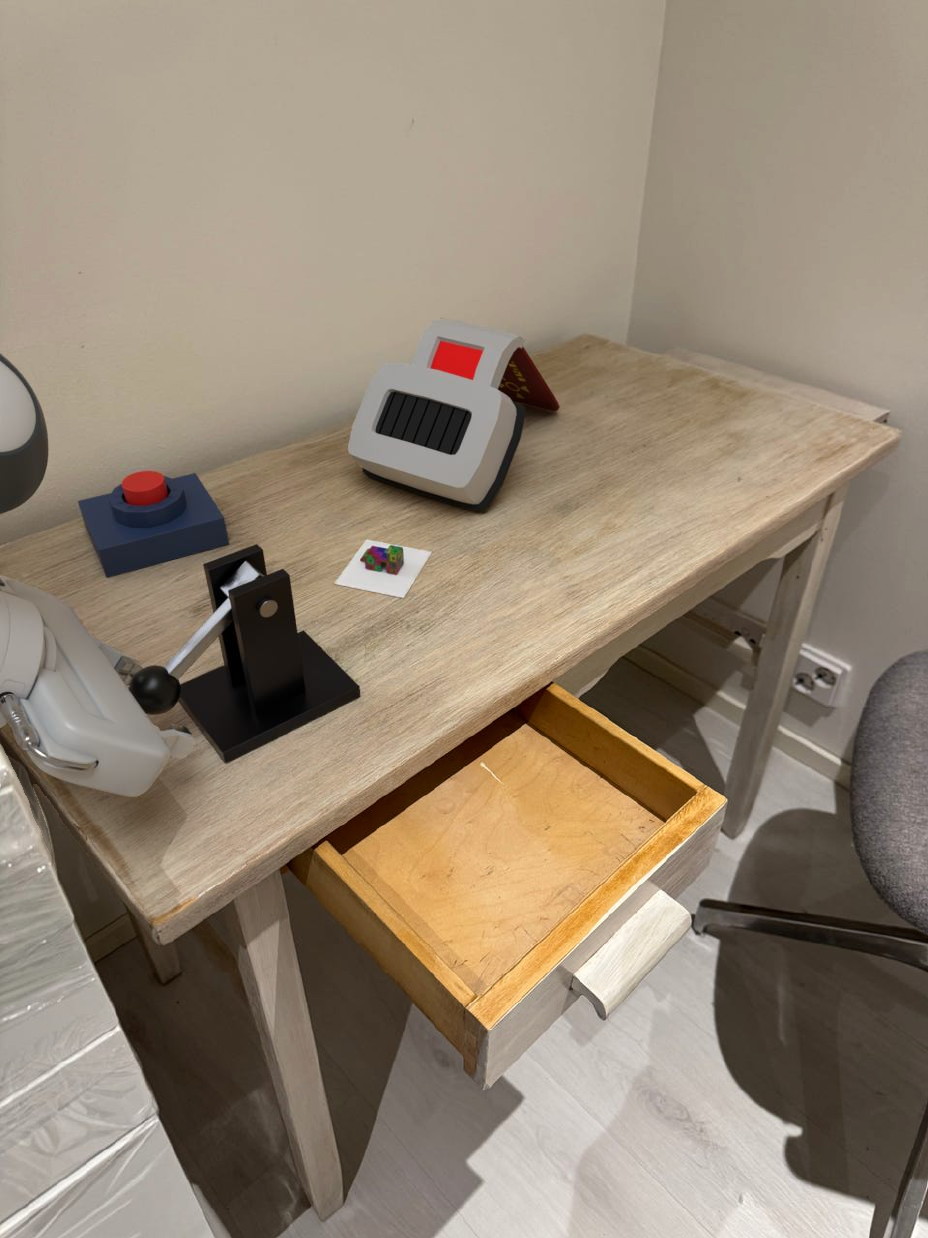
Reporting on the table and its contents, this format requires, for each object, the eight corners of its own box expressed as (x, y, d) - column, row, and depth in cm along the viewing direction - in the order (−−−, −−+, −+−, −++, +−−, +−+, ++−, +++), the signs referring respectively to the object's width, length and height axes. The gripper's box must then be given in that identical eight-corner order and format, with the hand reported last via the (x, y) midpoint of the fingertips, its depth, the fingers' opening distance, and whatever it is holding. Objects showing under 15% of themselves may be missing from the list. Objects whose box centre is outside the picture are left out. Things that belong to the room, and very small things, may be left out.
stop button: (130, 510, 86) (126, 495, 85) (121, 491, 88) (117, 476, 87) (172, 500, 87) (169, 484, 86) (162, 482, 90) (158, 466, 89)
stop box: (106, 577, 85) (93, 533, 82) (85, 527, 92) (72, 485, 89) (229, 544, 90) (221, 501, 86) (200, 498, 96) (192, 457, 93)
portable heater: (396, 288, 95) (540, 318, 89) (475, 384, 118) (594, 414, 112) (329, 456, 95) (469, 500, 88) (422, 520, 118) (538, 558, 111)
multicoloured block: (407, 558, 88) (406, 538, 86) (396, 574, 86) (395, 554, 84) (367, 550, 89) (366, 530, 87) (356, 566, 87) (354, 546, 85)
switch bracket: (225, 764, 67) (195, 632, 59) (175, 697, 72) (141, 569, 64) (360, 696, 73) (349, 568, 65) (305, 640, 78) (288, 515, 70)
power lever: (164, 731, 65) (129, 713, 62) (145, 704, 67) (110, 685, 64) (288, 598, 66) (259, 574, 63) (265, 575, 68) (236, 551, 65)
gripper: (59, 712, 48) (249, 755, 59) (-41, 543, 61) (131, 604, 72) (-1, 805, 49) (198, 831, 60) (-87, 619, 61) (90, 668, 72)
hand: (160, 706), depth 66 cm, fingers open, 8 cm apart
